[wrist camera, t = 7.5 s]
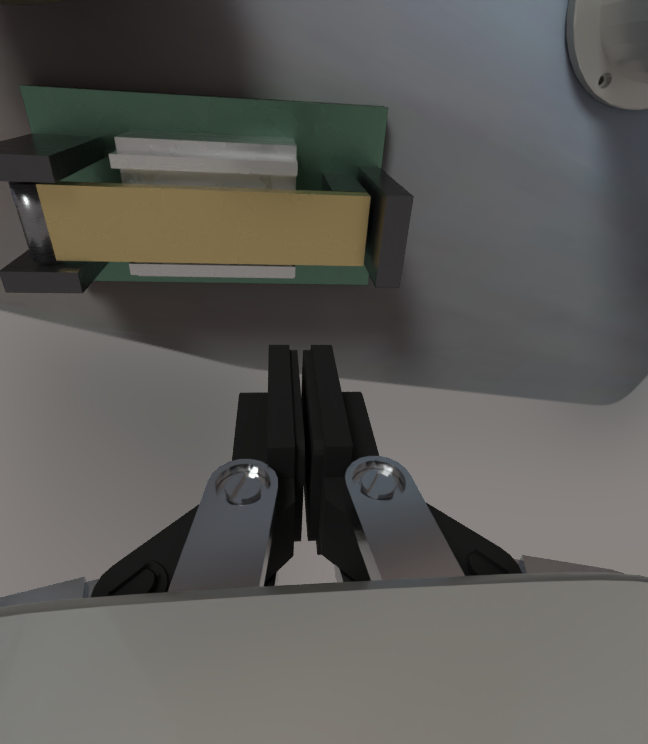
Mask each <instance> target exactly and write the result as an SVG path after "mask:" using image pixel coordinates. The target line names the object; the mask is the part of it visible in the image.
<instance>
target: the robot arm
mask: <svg viewBox="0 0 648 744" xmlns="http://www.w3.org/2000/svg"><path fill="white" fill-rule="evenodd" d="M566 38H567V45H568V52H569V58H570V61H571V64H572V66H573V69H574V72H575V75H576V77H577V78H578V80H579V81H580V83H581V84H582V86H583V87H584V89H585V90H586V91H587V92H588V93H589V94H590V95H591V96H593V97H594V98H595V99H596V100H598V101H600V102H602V103H604V104H606V105H608V106H610V107H615V108H620V109H627V110H645V109H648V0H569V4H568V10H567V31H566ZM599 79H600V81H599ZM598 82H599V83H598ZM303 486H304V495H305V509H306V523H307V537H308V541H315V540H316V545H317V554H318V555H321V554H322V555H323V556H324V557H326V558H327V559H328V560H329V561H331V562H332V563H333V564H334V565H335V576H336V579H337V583H321V584H303V585H284V586H277V582H278V570H279V569H280V568H281V567H282V566H283V565H284V564H285V563H286V562H287V561H288V560H289V559H290V558H292V557H293V549H294V541H301V530H302V509H303V508H302V507H303ZM0 744H648V577H645V576H640V575H628V574H624V573H621V572H617V571H614V570H611V569H605V568H599V567H593V566H587V565H580V564H574V563H568V562H562V561H556V560H550V559H543V558H537V557H531V556H525V555H522V557H521V559H520V560H517V559H513V558H512V557H511V556H510V555H509V554H508V553H507V552H506V551H504V550H503V549H502V548H500V547H499V546H497V545H495V544H494V543H492V542H490V541H489V540H487V539H485V538H483V537H482V536H480V535H479V534H477V533H475V532H474V531H472V530H471V529H469V528H467V527H465V526H464V525H462V524H460V523H459V522H457V521H456V520H454V519H452V518H451V517H449V516H447V515H445V514H444V513H442V512H441V511H439V510H437V509H436V508H434V507H432V506H431V505H429V504H427V503H426V502H425V501H424V499H423V497H422V495H421V493H420V492H419V490H418V488H417V486H416V484H415V482H414V480H413V479H412V477H411V475H410V473H409V472H408V471H407V470H406V468H405V467H403V466H402V465H401V464H399V463H398V462H396V461H394V460H392V459H390V458H386V457H382V456H379V453H378V450H377V446H376V442H375V439H374V435H373V431H372V428H371V424H370V421H369V417H368V413H367V409H366V406H365V402H364V399H363V395H362V393H361V392H341V387H340V382H339V378H338V373H337V368H336V363H335V359H334V354H333V349H332V345H311V350H303V367H302V395H301V391H300V378H299V366H298V354H297V350H289V345H269V367H268V393H240V394H239V401H238V410H237V419H236V428H235V438H234V447H233V457H232V461H230V462H227V463H226V464H224V465H222V466H220V467H219V468H218V469H217V470H215V471H214V472H213V473H212V475H211V477H210V478H209V480H208V482H207V485H206V488H205V491H204V493H203V496H202V499H201V502H200V504H199V505H197V506H196V507H195V508H193V509H192V510H190V511H189V512H188V513H186V514H185V515H184V516H182V517H181V518H179V519H178V520H176V521H175V522H173V523H172V524H171V525H169V526H168V527H166V528H165V529H164V530H162V531H161V532H160V533H158V534H157V535H155V536H154V537H152V538H151V539H150V540H148V541H147V542H146V543H144V544H143V545H141V546H140V547H138V548H137V549H136V550H134V551H133V552H131V553H130V554H129V555H127V556H126V557H124V558H123V559H122V560H120V561H119V562H117V563H116V564H115V565H113V566H112V567H111V568H110V569H109V570H108V571H106V572H105V573H104V574H103V575H102V576H101V578H100V579H97V580H93V581H89V582H86V579H85V577H81V578H78V579H73V580H70V581H65V582H62V583H57V584H53V585H49V586H45V587H41V588H37V589H33V590H29V591H25V592H21V593H17V594H13V595H9V596H5V597H1V598H0Z"/></svg>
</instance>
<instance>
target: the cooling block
mask: <svg viewBox="0 0 648 744" xmlns="http://www.w3.org/2000/svg"><path fill="white" fill-rule="evenodd" d="M19 86H20V90H21V94H22V97H23V101H24V105H25V109H26V113H27V116H28V120H29V124H30V128H31V132H32V134H28V135H24V136H20V137H16V138H12V139H8V140H4V141H0V181H17V182H44V183H56V182H58V181H72V182H99V183H126V184H152V185H179V186H206V187H232V188H259V189H286V190H312V191H339V192H366V193H368V194H369V195H370V196H371V199H370V208H369V217H368V227H367V236H366V246H365V255H364V264H363V266H325V265H270V264H215V263H159V262H104V261H52V262H35V261H33V260H32V258H31V255H30V251H29V250H28V251H26V252H25V253H23V254H22V255H21V256H19V257H18V258H17V259H15V260H14V261H12V262H11V263H10V264H8V265H7V266H5V267H4V268H3V269H1V270H0V277H1V280H2V283H3V286H4V288H5V291H6V292H14V293H83V292H84V291H85V290H86V289H87V288H88V286H89V285H90V284H91V283H92V282H93V281H136V282H205V283H275V284H344V285H368V279H369V275H370V277H371V279H372V281H373V283H374V285H375V287H381V288H399V287H400V280H401V274H402V268H403V261H404V255H405V248H406V242H407V236H408V229H409V223H410V216H411V210H412V203H413V197H414V196H412V195H411V194H410V193H409V192H408V191H407V190H405V189H404V188H403V187H402V186H401V185H399V184H398V183H397V182H396V181H395V180H393V179H392V178H391V177H390V176H389V175H387V174H386V173H385V172H384V171H383V170H382V169H381V166H382V158H383V149H384V140H385V132H386V123H387V114H388V107H384V106H370V105H353V104H337V103H320V102H304V101H287V100H271V99H254V98H238V97H221V96H205V95H188V94H172V93H155V92H139V91H122V90H106V89H89V88H73V87H56V86H40V85H19Z"/></svg>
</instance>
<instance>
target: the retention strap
mask: <svg viewBox="0 0 648 744" xmlns="http://www.w3.org/2000/svg"><path fill="white" fill-rule="evenodd" d="M9 185H10V189H11V192H12V195H13V199H14V202H15V205H16V208H17V212H18V215H19V218H20V222H21V225H22V228H23V232H24V235H25V238H26V241H27V245H28V248H29V251H30V255H31V258H32V260H33V261H35V262H52V261H104V262H159V263H215V264H270V265H325V266H363V264H364V255H365V246H366V236H367V227H368V217H369V208H370V199H371V196H370V195H369V194H368V193H366V192H339V191H312V190H286V189H259V188H232V187H206V186H179V185H152V184H126V183H99V182H72V181H58V182H56V183H44V182H17V181H10V182H9Z"/></svg>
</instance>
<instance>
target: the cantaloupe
mask: <svg viewBox="0 0 648 744" xmlns="http://www.w3.org/2000/svg"><path fill="white" fill-rule="evenodd" d="M61 1H67V0H0V4H10V5H31V4H43V3H53V2H61Z"/></svg>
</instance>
